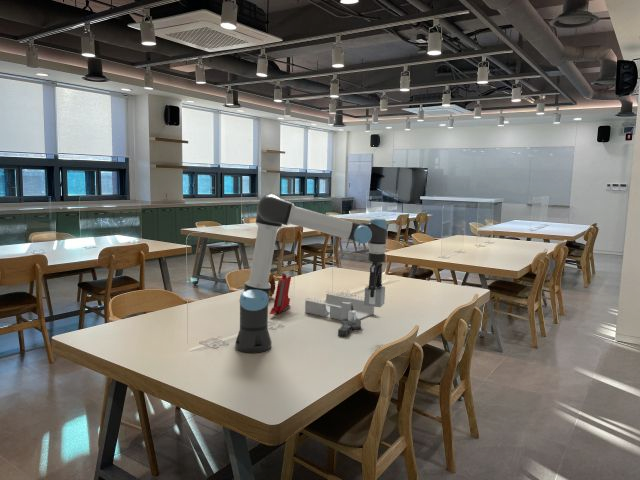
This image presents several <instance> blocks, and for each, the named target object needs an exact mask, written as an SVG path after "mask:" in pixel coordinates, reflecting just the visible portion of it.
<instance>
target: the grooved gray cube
mask: <svg viewBox="0 0 640 480" xmlns="http://www.w3.org/2000/svg"><path fill="white" fill-rule="evenodd" d="M368 288H369V285H367V286H366V287H364V296H363V300H364V305H366V306H373V307H374V308H382V306H384V305H385V299H386V296H385V295H386V286H384V285H382V286H376V288H375V290H376V299H375V304H369V294H370V290H368Z"/></svg>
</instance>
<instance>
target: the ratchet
mask: <svg viewBox="0 0 640 480" xmlns="http://www.w3.org/2000/svg"><path fill="white" fill-rule="evenodd" d="M361 327H362V321H361V319H360V320H358V319H356V311H353V310H350V311H348V319H344V320H342V322H341V326H340V327H339V328H338V329H337V336H339V337H344V336H345V338H346V337H348V335H349V334H350V333H351V332H352V331H357V330H361Z"/></svg>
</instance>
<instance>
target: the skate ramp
mask: <svg viewBox="0 0 640 480" xmlns="http://www.w3.org/2000/svg"><path fill="white" fill-rule="evenodd" d="M316 300H317V301H316ZM304 303H305V306H304V307H305V308H304V309H305V310H304V312H305V313H306V314H307V313H308V314H311V315H315V316H321V317H325V318H330V319H334V320H338V321H343V320H344V319H348V311H350V310H353V311H356V319H358V320H360V321H361V320H363V319H365V318H368V317H369V316H372V315H375V307H373V306H366V305H364V299H363V298H361V296H358V295H357V296H356V297H354V295H351V296H350V294H349V293H347V294H345V295H343V293H340V294H339V291H338V292H334V293H332V291H330V290H328V291H326V298H325V300H324V301H322V300H319V299H312V298H309V297H307V299H305V301H304Z"/></svg>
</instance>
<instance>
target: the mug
mask: <svg viewBox="0 0 640 480" xmlns="http://www.w3.org/2000/svg"><path fill="white" fill-rule="evenodd" d="M274 276H275V275H274V273H272V272H270V275H269V281H268V283H269V284H270V286H271V289H270V295H269V298H272V297H273V295H275V291H276V281H275V277H274Z"/></svg>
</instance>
